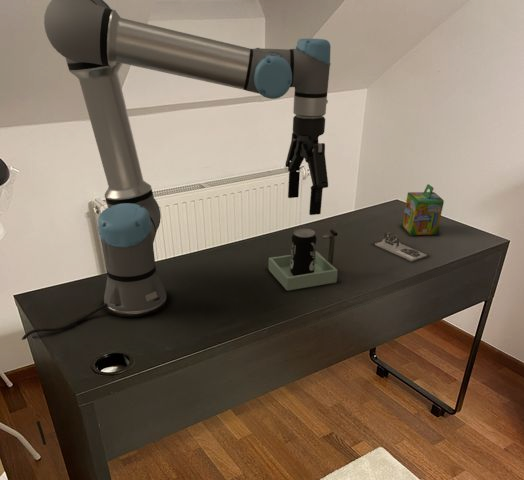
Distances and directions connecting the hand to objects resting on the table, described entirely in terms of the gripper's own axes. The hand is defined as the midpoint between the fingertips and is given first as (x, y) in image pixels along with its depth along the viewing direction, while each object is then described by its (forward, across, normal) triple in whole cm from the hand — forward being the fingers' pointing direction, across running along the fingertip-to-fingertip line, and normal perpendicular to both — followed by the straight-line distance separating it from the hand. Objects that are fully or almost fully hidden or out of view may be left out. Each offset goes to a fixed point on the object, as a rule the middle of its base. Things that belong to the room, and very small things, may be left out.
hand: (303, 205), depth 134 cm
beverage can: (+19, 0, -1) cm, 19 cm away
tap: (+20, 0, -9) cm, 22 cm away
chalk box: (+19, +18, -51) cm, 58 cm away
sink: (+20, 0, -1) cm, 20 cm away
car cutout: (+20, +6, -36) cm, 42 cm away
